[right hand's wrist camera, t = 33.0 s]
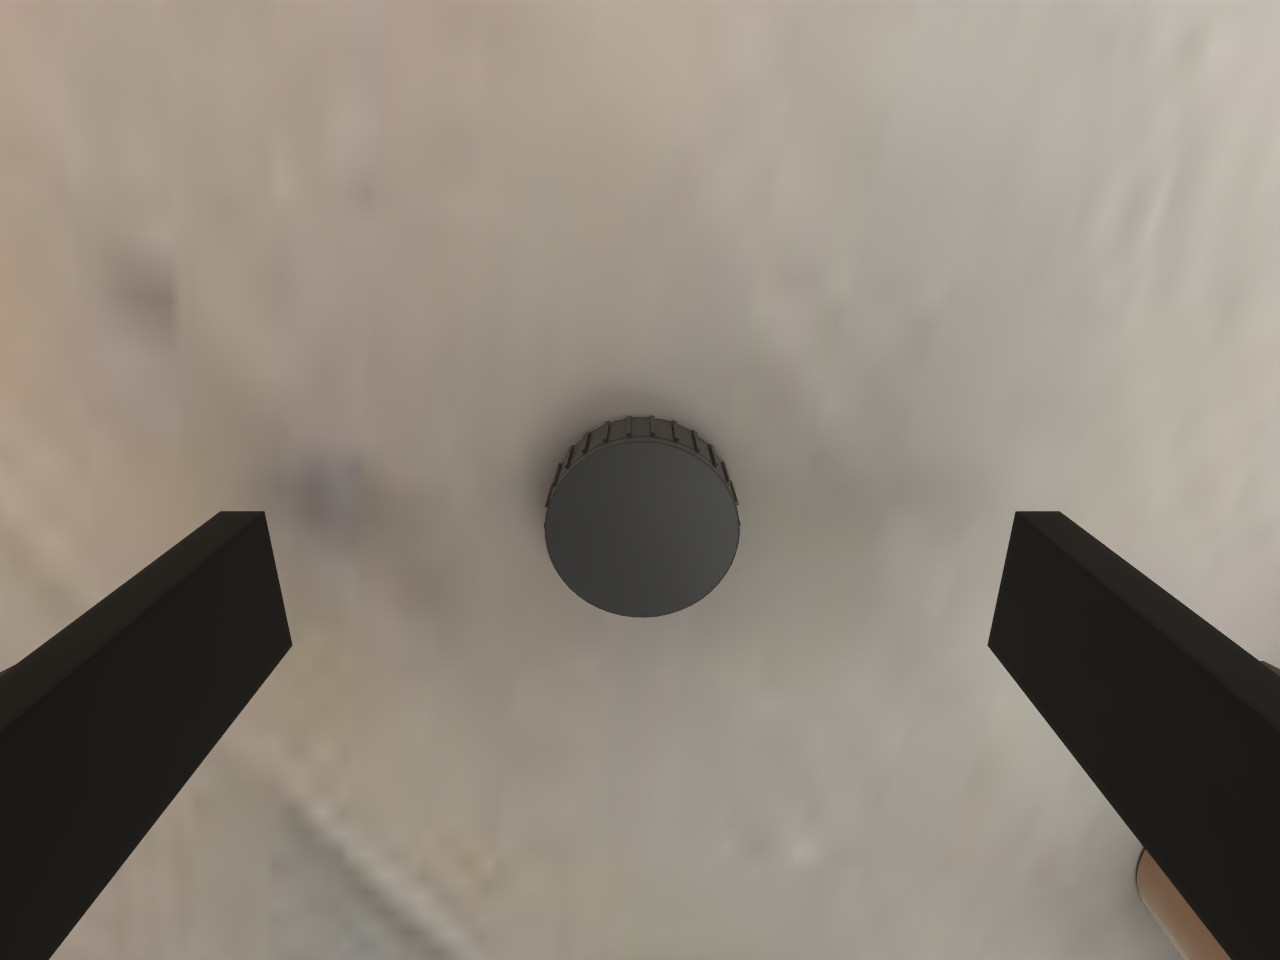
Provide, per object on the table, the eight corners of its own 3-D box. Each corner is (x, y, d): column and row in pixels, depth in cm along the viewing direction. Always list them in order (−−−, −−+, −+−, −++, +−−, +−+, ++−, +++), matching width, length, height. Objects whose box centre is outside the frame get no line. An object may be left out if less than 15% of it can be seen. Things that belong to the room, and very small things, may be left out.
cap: (706, 596, 17) (712, 636, 15) (536, 561, 16) (525, 599, 15) (754, 437, 15) (767, 464, 14) (570, 396, 15) (561, 418, 13)
